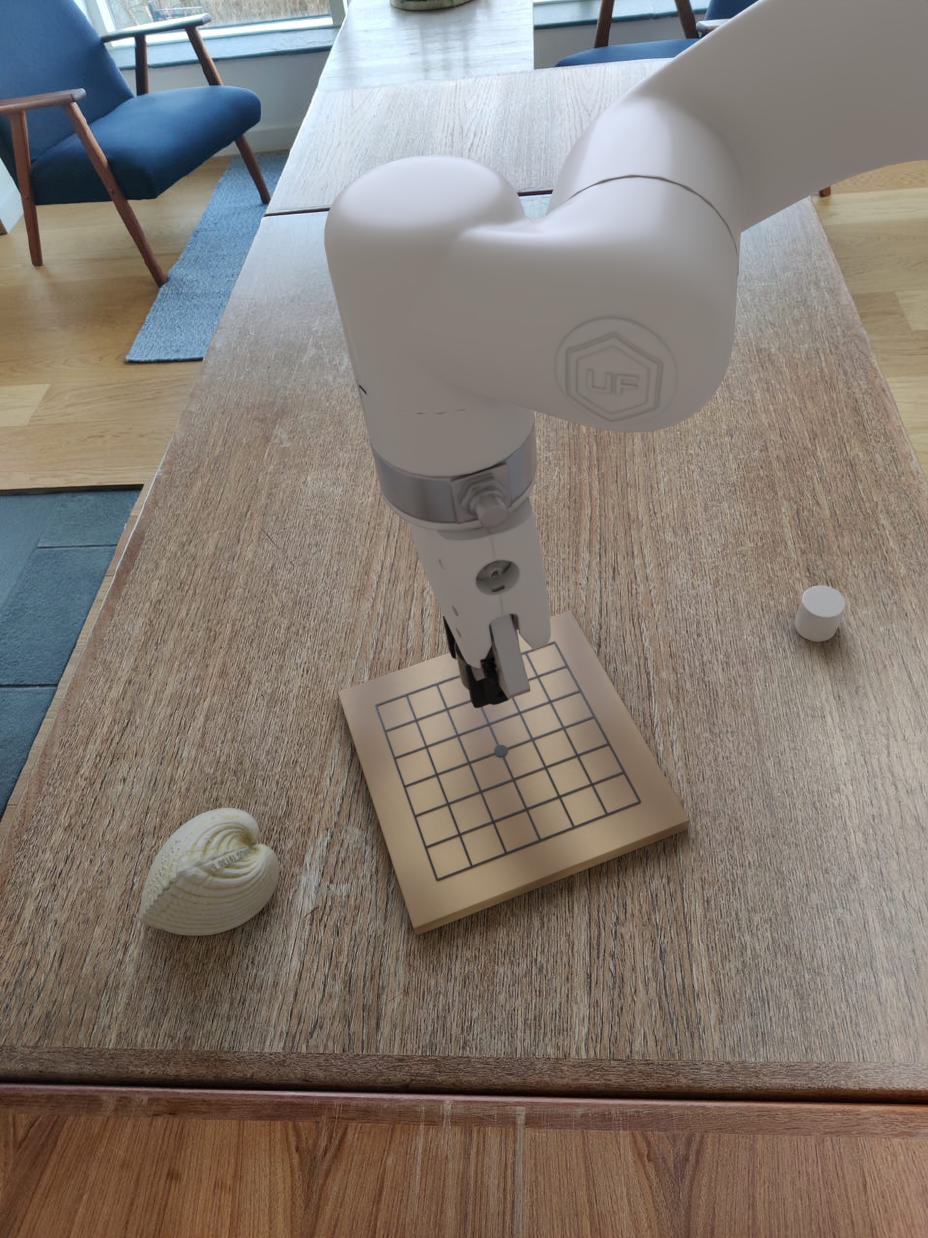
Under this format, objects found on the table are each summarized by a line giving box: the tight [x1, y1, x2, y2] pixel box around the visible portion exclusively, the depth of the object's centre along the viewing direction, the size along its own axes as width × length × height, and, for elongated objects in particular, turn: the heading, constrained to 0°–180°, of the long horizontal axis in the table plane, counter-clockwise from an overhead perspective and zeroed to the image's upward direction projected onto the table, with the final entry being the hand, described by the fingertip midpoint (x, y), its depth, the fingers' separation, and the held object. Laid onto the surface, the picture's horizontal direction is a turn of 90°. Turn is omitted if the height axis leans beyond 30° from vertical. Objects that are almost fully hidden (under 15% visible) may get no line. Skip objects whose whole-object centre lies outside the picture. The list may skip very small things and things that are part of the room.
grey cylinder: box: [793, 585, 847, 643], centre depth 69 cm, size 3×3×3 cm
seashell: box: [138, 807, 280, 937], centre depth 60 cm, size 8×8×8 cm
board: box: [337, 609, 690, 936], centre depth 66 cm, size 20×20×2 cm
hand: (485, 671), depth 55 cm, fingers closed on black stone, 3 cm apart
